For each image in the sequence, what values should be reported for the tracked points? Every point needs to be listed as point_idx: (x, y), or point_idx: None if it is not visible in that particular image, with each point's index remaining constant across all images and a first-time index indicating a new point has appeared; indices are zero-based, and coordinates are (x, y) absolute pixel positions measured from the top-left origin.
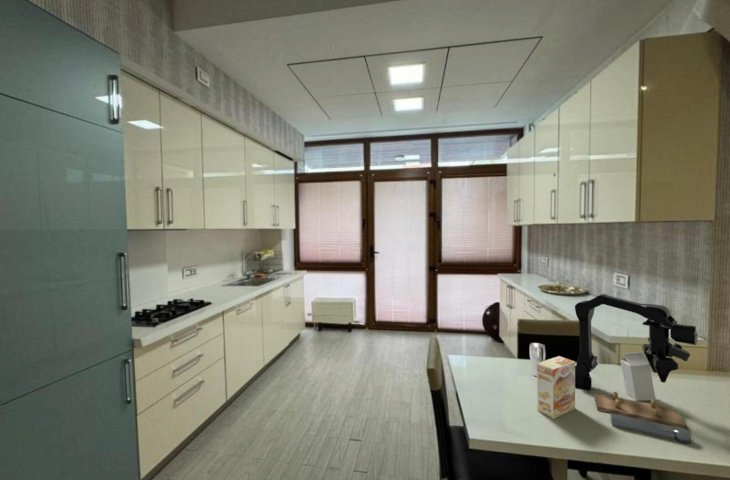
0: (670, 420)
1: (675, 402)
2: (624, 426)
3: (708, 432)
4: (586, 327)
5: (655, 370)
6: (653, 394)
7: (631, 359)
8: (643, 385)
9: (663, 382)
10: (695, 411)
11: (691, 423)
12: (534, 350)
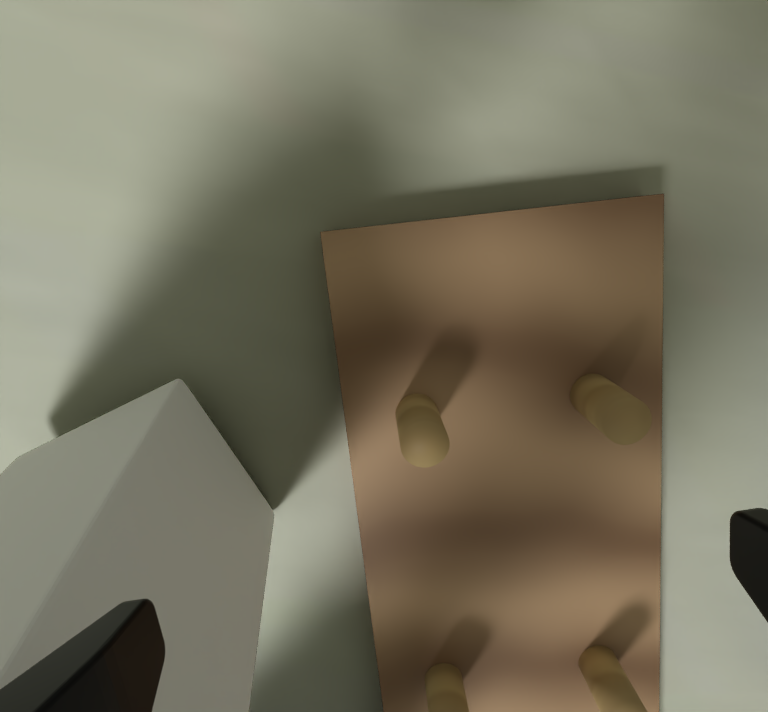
0: (628, 311)
1: (48, 197)
2: None
3: (598, 24)
4: None
5: (135, 668)
6: (173, 415)
7: None
8: (198, 562)
9: (750, 532)
10: (158, 43)
11: (485, 134)
12: None
